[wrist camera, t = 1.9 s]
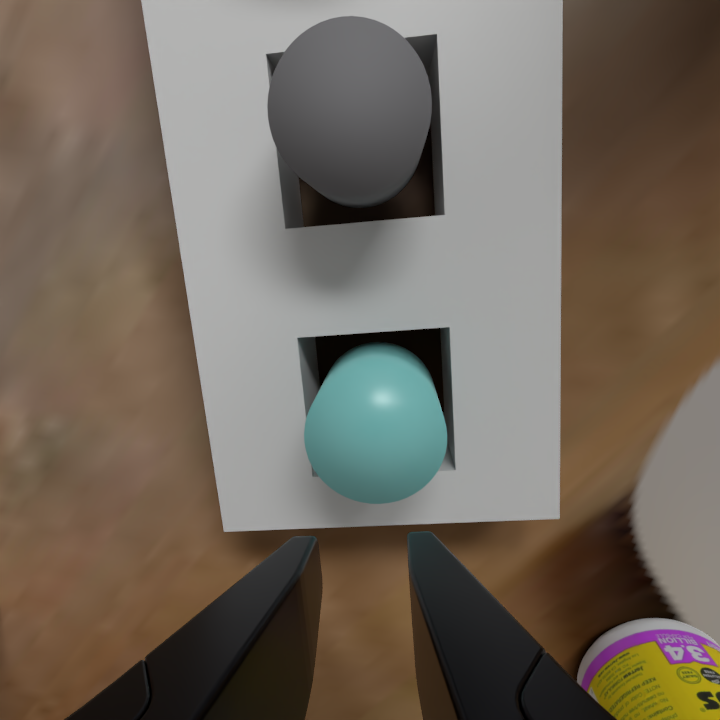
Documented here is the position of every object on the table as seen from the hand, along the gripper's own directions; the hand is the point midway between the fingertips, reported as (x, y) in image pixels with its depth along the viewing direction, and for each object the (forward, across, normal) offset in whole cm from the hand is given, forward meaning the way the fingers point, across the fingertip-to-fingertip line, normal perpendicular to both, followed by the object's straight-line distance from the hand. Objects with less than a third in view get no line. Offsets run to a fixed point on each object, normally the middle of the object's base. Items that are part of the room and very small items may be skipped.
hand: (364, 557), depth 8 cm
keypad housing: (+12, 0, -8) cm, 15 cm away
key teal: (+9, 0, 0) cm, 9 cm away
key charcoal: (+10, 0, -8) cm, 13 cm away
